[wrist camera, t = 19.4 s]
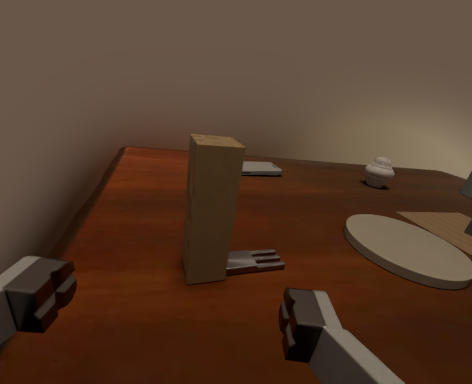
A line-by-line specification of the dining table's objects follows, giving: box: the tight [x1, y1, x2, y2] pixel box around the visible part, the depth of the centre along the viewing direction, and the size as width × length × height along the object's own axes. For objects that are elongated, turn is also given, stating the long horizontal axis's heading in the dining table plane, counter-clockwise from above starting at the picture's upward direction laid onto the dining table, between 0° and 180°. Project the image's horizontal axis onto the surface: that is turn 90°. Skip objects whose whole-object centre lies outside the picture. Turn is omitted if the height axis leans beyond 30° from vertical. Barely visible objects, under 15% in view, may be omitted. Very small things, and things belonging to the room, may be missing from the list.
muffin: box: [365, 157, 394, 188], centre depth 55 cm, size 6×6×7 cm
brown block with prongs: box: [182, 134, 285, 285], centre depth 21 cm, size 10×3×12 cm, turn 108°
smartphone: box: [241, 162, 283, 175], centre depth 53 cm, size 7×1×15 cm
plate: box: [344, 214, 472, 289], centre depth 30 cm, size 14×14×1 cm
